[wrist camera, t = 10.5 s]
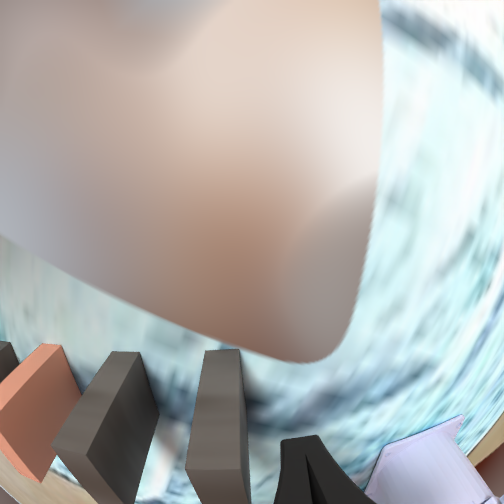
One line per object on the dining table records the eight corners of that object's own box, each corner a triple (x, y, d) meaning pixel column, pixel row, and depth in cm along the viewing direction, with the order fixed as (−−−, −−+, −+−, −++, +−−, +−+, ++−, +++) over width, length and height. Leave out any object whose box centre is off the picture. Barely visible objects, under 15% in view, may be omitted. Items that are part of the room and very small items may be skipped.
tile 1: (246, 413, 14) (252, 520, 7) (217, 414, 14) (211, 521, 7) (238, 348, 13) (240, 468, 6) (205, 350, 13) (184, 468, 6)
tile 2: (159, 414, 14) (131, 512, 7) (134, 412, 14) (99, 504, 7) (139, 352, 13) (86, 455, 6) (112, 351, 13) (50, 445, 6)
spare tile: (86, 404, 14) (41, 483, 7) (67, 401, 14) (20, 473, 7) (61, 345, 13) (-8, 420, 6) (42, 343, 13) (-26, 411, 6)
